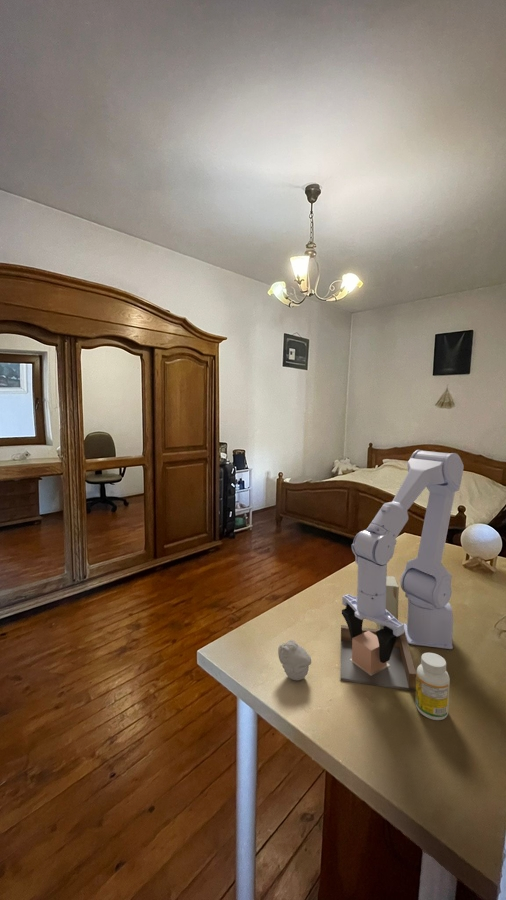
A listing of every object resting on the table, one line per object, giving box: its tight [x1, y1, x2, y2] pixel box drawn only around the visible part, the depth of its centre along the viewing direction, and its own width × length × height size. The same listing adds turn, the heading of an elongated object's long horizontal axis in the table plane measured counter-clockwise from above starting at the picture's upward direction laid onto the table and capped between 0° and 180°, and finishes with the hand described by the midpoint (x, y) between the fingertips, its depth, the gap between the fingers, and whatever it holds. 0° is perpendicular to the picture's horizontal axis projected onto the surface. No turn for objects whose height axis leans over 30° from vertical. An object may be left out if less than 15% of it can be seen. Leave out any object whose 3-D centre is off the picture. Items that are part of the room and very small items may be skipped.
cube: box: [352, 631, 387, 674], centre depth 80 cm, size 5×5×5 cm
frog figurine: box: [277, 639, 312, 681], centre depth 77 cm, size 6×7×7 cm
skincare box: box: [376, 575, 400, 629], centre depth 93 cm, size 6×4×12 cm
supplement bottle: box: [415, 652, 451, 721], centre depth 68 cm, size 5×5×10 cm
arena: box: [339, 624, 417, 692], centre depth 81 cm, size 14×14×4 cm
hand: (370, 650), depth 80 cm, fingers open, 7 cm apart
